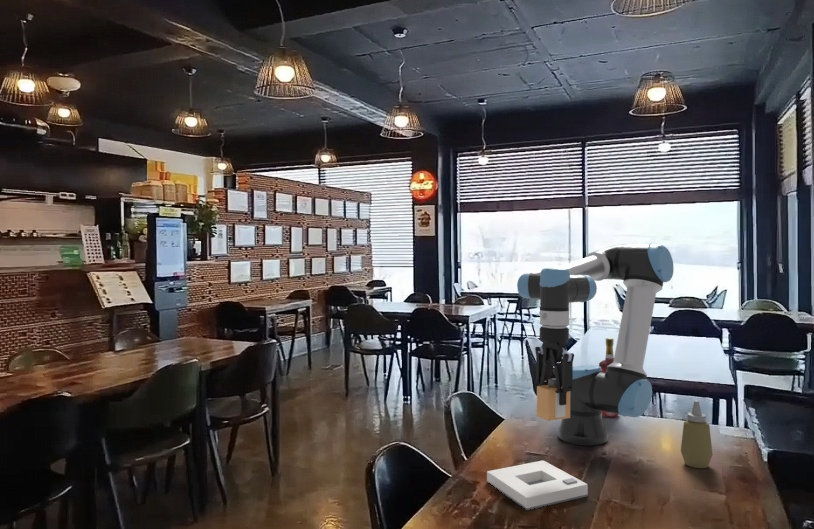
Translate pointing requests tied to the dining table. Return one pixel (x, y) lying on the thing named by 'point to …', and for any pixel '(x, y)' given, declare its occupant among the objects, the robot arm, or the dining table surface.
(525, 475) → the socket
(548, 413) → the plug
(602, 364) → the liquor
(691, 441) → the squeeze bottle
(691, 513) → the dining table surface
